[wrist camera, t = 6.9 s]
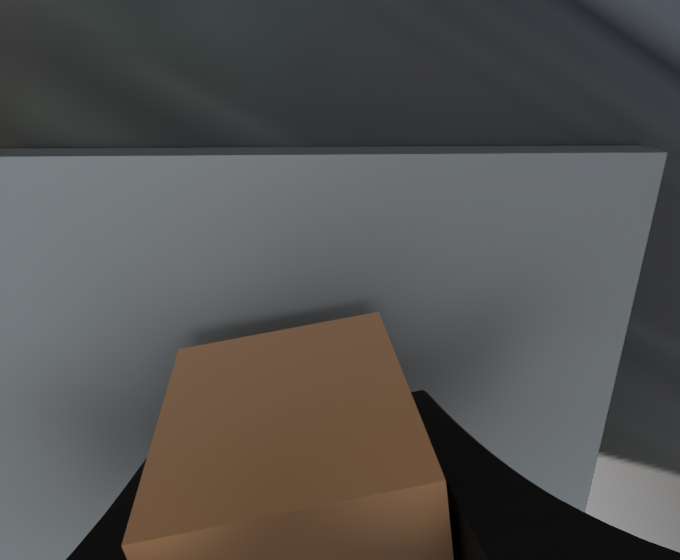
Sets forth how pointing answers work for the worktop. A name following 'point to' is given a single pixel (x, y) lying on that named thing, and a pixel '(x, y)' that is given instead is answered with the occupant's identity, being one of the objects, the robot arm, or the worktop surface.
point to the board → (307, 295)
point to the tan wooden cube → (291, 454)
